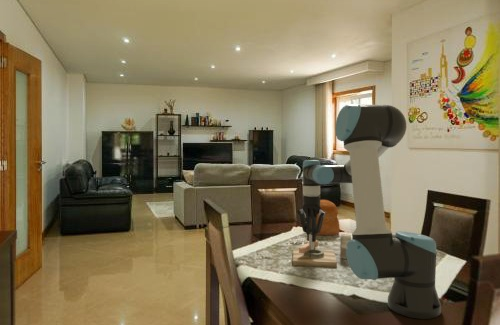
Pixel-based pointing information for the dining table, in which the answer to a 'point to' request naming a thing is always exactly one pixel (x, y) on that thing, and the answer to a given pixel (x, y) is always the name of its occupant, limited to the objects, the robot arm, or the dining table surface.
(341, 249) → the leg peg
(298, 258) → the stool seat
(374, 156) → the robot arm
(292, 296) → the dining table surface
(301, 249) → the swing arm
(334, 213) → the bread
